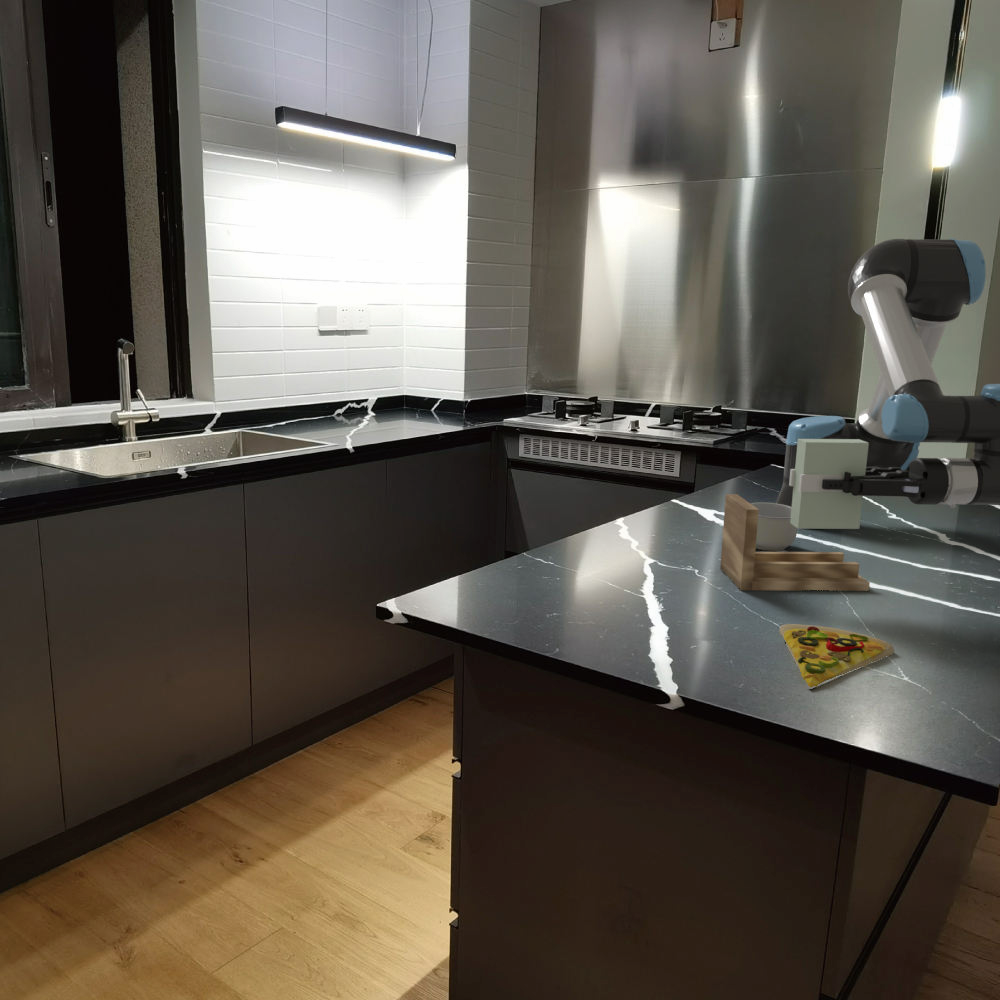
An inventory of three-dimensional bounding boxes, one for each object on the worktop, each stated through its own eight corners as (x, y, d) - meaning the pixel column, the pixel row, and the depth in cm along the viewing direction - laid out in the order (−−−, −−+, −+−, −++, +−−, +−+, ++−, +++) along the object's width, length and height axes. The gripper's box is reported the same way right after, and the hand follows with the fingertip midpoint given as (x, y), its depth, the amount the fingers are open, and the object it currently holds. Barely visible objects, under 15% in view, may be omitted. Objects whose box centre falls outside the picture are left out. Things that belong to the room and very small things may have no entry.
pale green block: (849, 523, 142) (858, 439, 139) (859, 528, 139) (868, 442, 136) (790, 523, 142) (797, 438, 139) (797, 528, 139) (806, 442, 135)
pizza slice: (894, 653, 121) (897, 633, 121) (874, 711, 104) (877, 687, 103) (781, 632, 129) (783, 613, 128) (745, 682, 112) (747, 660, 111)
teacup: (799, 544, 175) (803, 505, 173) (793, 557, 166) (796, 517, 164) (729, 535, 181) (732, 498, 179) (719, 548, 171) (722, 509, 170)
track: (839, 569, 158) (847, 495, 155) (868, 590, 146) (877, 510, 143) (720, 569, 157) (725, 494, 154) (740, 590, 146) (746, 509, 143)
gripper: (963, 516, 132) (813, 515, 131) (909, 492, 148) (775, 491, 148) (970, 468, 131) (818, 466, 130) (915, 449, 147) (779, 448, 146)
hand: (795, 480), depth 139 cm, fingers closed on pale green block, 3 cm apart
